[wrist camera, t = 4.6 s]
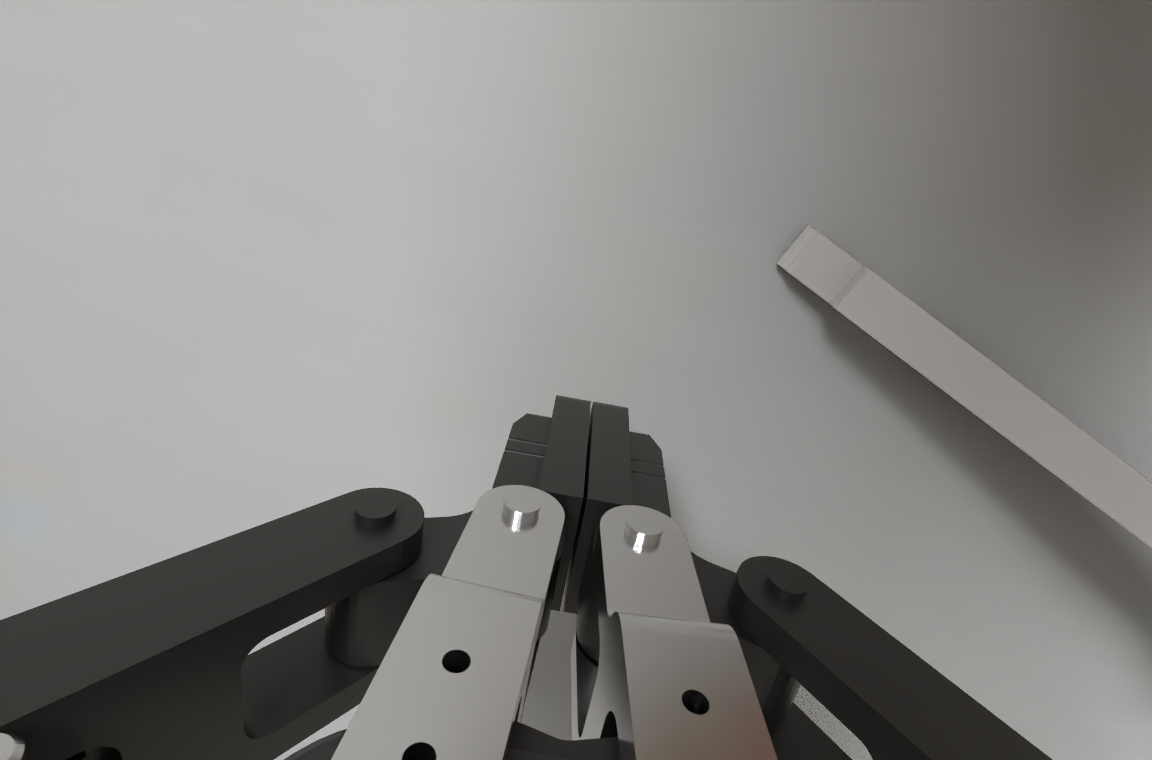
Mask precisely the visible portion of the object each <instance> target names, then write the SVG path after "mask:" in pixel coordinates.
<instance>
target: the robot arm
mask: <svg viewBox="0 0 1152 760" xmlns="http://www.w3.org/2000/svg"><path fill="white" fill-rule="evenodd" d="M590 405H591V401H586V400H580V399H575V398H569V397H563V396H558V395H556V400H555V405H554V410H553V415H552V418H549V417H544V416H538V415H532V414H526V415H524V416H523V417H522V418H520V419H519V420H517V421H516V422H515V423H513V426H512V429H511V432H510V435H509V439H508V441H507V444H506V447H505V451H504V454H503V457H502V460H501V463H500V466H499V469H498V472H497V475H496V478H495V481H494V485H493V488H492V489H491V490H489V491H487V492H486V493H484V494H483V495H482V496H481V497H480V499H479V500H478V502H477V504H476V506H475V508H474V510H473V511H471V512H468V513H465V514H462V515H457V516H451V517H434V518H424V511H423V508H422V506H421V505H420V503H419V502H418V501H417V500H416V499H414V498H413V497H412V496H410V495H408V494H406V493H404V492H401V491H398V490H393V489H388V488H366V489H361V490H356V491H353V492H349V493H347V494H344V495H341V496H339V497H336V498H333V499H330V500H328V501H325V502H322V503H319V504H317V505H314V506H311V507H309V508H306V509H303V510H300V511H298V512H295V513H292V514H289V515H287V516H284V517H281V518H279V519H276V520H273V521H270V522H268V523H265V524H262V525H259V526H257V527H254V528H251V529H249V530H246V531H243V532H240V533H238V534H235V535H232V536H229V537H227V538H224V539H221V540H218V541H216V542H213V543H210V544H208V545H205V546H202V547H199V548H197V549H194V550H191V551H188V552H186V553H183V554H180V555H178V556H175V557H172V558H169V559H167V560H164V561H161V562H158V563H156V564H153V565H150V566H148V567H145V568H142V569H139V570H137V571H134V572H131V573H128V574H126V575H123V576H120V577H118V578H115V579H112V580H109V581H107V582H104V583H101V584H98V585H96V586H93V587H90V588H87V589H85V590H82V591H79V592H77V593H74V594H71V595H68V596H66V597H63V598H60V599H57V600H55V601H52V602H49V603H47V604H44V605H41V606H38V607H36V608H33V609H30V610H27V611H25V612H22V613H19V614H17V615H14V616H11V617H8V618H6V619H3V620H0V760H273V759H275V758H277V757H278V756H280V755H281V754H283V753H284V752H286V751H287V750H289V749H290V748H292V747H293V746H295V745H297V744H298V743H300V742H301V741H303V740H304V739H306V738H307V737H309V736H310V735H312V734H314V733H315V732H317V731H318V730H320V729H321V728H323V727H324V726H326V725H327V724H329V723H331V722H332V721H334V720H335V719H337V718H338V717H340V716H341V715H343V714H344V713H346V712H348V711H349V710H351V709H352V708H354V707H355V706H357V705H358V704H360V705H359V707H358V709H357V711H356V713H355V715H354V717H353V718H352V720H351V722H350V724H349V726H348V728H347V729H345V730H342V731H339V732H336V733H334V734H331V735H329V736H327V737H324V738H322V739H319V740H317V741H315V742H313V743H311V744H310V745H308V746H306V747H304V748H302V749H300V750H299V751H297V752H295V753H294V754H292V755H290V756H289V757H287V758H286V759H284V760H852V759H851V758H850V757H849V756H848V755H847V754H846V753H845V752H844V751H843V750H842V749H841V748H839V747H838V746H837V745H836V744H835V743H834V742H833V741H832V740H831V739H830V738H829V737H828V736H827V735H826V734H825V733H824V732H823V731H822V730H821V729H820V728H819V727H818V726H817V725H816V724H815V723H814V722H813V721H812V720H811V719H810V718H809V717H808V716H807V715H806V714H805V713H804V712H803V711H801V710H800V709H799V708H798V707H797V706H796V705H795V704H794V703H793V701H794V698H795V696H796V694H797V692H798V689H799V687H800V685H802V686H803V687H804V688H805V689H807V690H808V691H809V692H810V693H811V694H812V695H813V696H814V697H815V698H816V699H817V700H818V701H819V702H820V703H821V704H823V705H824V706H825V707H826V708H827V709H828V710H829V711H830V712H831V713H832V714H833V715H834V716H835V717H836V718H837V719H839V720H840V721H841V722H842V723H843V724H844V725H845V726H846V727H847V728H848V729H849V730H850V731H851V732H852V733H853V734H855V735H856V736H857V737H858V738H859V739H860V740H861V741H862V743H863V744H864V745H865V746H866V748H867V749H868V751H869V753H870V755H871V757H872V759H873V760H1052V759H1051V758H1049V757H1048V756H1047V755H1046V754H1044V753H1043V752H1042V751H1040V750H1039V749H1038V748H1037V747H1035V746H1034V745H1033V744H1031V743H1030V742H1029V741H1027V740H1026V739H1025V738H1024V737H1022V736H1021V735H1020V734H1018V733H1017V732H1016V731H1014V730H1013V729H1012V728H1011V727H1009V726H1008V725H1007V724H1005V723H1004V722H1003V721H1002V720H1000V719H999V718H998V717H996V716H995V715H994V714H992V713H991V712H990V711H989V710H987V709H986V708H985V707H983V706H982V705H981V704H980V703H978V702H977V701H976V700H974V699H973V698H972V697H970V696H969V695H968V694H967V693H965V692H964V691H963V690H961V689H960V688H959V687H957V686H956V685H955V684H954V683H952V682H951V681H950V680H948V679H947V678H946V677H945V676H943V675H942V674H941V673H939V672H938V671H937V670H935V669H934V668H933V667H932V666H930V665H929V664H928V663H926V662H925V661H924V660H922V659H921V658H920V657H919V656H917V655H916V654H915V653H913V652H912V651H911V650H910V649H908V648H907V647H906V646H904V645H903V644H902V643H900V642H899V641H898V640H897V639H895V638H894V637H893V636H891V635H890V634H889V633H887V632H886V631H885V630H884V629H882V628H881V627H880V626H878V625H877V624H876V623H875V622H873V621H872V620H871V619H869V618H868V617H867V616H865V615H864V614H863V613H862V612H860V611H859V610H858V609H856V608H855V607H854V606H852V605H851V604H850V603H849V602H847V601H846V600H845V599H843V598H842V597H841V596H840V595H838V594H837V593H836V592H834V591H833V590H832V589H830V588H829V587H828V586H827V585H825V584H824V583H823V582H821V581H820V580H819V579H818V578H816V577H815V576H814V575H812V574H811V573H809V572H808V571H807V570H805V569H803V568H802V567H800V566H798V565H796V564H794V563H791V562H789V561H786V560H783V559H779V558H775V557H769V556H758V557H752V558H749V559H747V560H745V561H744V562H743V563H742V564H741V565H740V567H739V568H738V571H737V573H735V572H732V571H730V570H727V569H725V568H722V567H720V566H717V565H715V564H712V563H710V562H708V561H706V560H704V559H702V558H700V557H698V556H697V555H695V554H694V553H692V552H691V551H690V549H689V545H688V542H687V538H686V536H685V533H684V531H683V530H682V528H681V527H680V526H679V525H678V524H677V523H676V522H675V521H674V520H673V519H671V515H670V508H669V501H668V494H667V487H666V480H665V473H664V467H663V459H662V452H661V449H660V448H659V446H658V445H657V444H656V443H655V441H654V440H653V439H652V438H651V437H650V435H646V434H640V433H634V432H629V416H628V408H626V407H620V406H614V405H609V404H603V403H598V402H593V405H592V409H591V413H590ZM589 417H590V418H589ZM566 578H567V581H566ZM565 583H566V591H565V601H564V612H570V613H575V614H577V625H576V630H575V635H574V639H573V644H572V648H571V722H572V741H566V740H560V739H557V738H554V737H552V736H550V735H547V734H545V733H543V732H540V731H538V730H536V729H534V728H531V727H529V726H527V725H524V724H522V719H523V714H524V710H525V706H526V702H527V697H528V693H529V689H530V685H531V680H532V676H533V672H534V668H535V663H536V659H537V655H538V651H539V646H540V641H541V637H542V636H543V635H544V633H545V631H546V629H547V626H548V621H549V616H550V611H551V610H557V611H560V606H561V602H562V597H563V592H564V587H565ZM324 608H325V616H324V617H322V618H320V619H318V620H316V621H314V622H312V623H311V624H309V625H307V626H305V627H303V628H301V629H299V630H297V631H295V632H293V633H291V634H289V635H287V636H285V637H283V638H281V639H279V640H277V641H275V642H273V643H271V644H269V645H267V646H265V647H263V648H261V649H260V650H258V651H256V652H254V653H252V654H250V655H248V654H249V652H250V651H251V650H252V649H253V648H254V647H255V646H256V645H257V644H258V643H259V642H261V641H262V640H264V639H265V638H267V637H268V636H270V635H272V634H274V633H276V632H278V631H280V630H282V629H284V628H286V627H288V626H290V625H292V624H294V623H296V622H298V621H300V620H302V619H304V618H306V617H308V616H310V615H312V614H314V613H316V612H318V611H320V610H322V609H324ZM247 655H248V656H247Z"/></svg>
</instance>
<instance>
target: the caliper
mask: <svg viewBox="0 0 1152 760" xmlns="http://www.w3.org/2000/svg"><path fill="white" fill-rule="evenodd" d="M777 264H778V265H779V266H781V267H782V268H783V269H785V270H786V271H787V272H788V273H790V274H791V275H792V276H794V277H795V278H796V279H798V280H799V281H800V282H801V283H803V284H804V285H805V286H807V287H808V288H809V289H811V290H812V291H813V292H815V293H816V294H817V295H819V296H820V297H821V298H823V299H824V300H825V301H827V302H828V303H829V304H830V305H831V306H832V307H833V308H835V309H836V310H837V311H838V312H840V313H841V314H842V315H844V316H845V317H846V318H848V319H849V320H850V321H852V322H853V323H854V324H856V325H857V326H858V327H860V328H861V329H862V330H864V331H865V332H866V333H868V334H869V335H870V336H872V337H873V338H874V339H876V340H877V341H878V342H879V343H881V344H882V345H883V346H885V347H886V348H887V349H889V350H890V351H891V352H893V353H894V354H895V355H897V356H898V357H899V358H901V359H902V360H903V361H905V362H906V363H907V364H909V365H910V366H911V367H913V368H914V369H915V370H917V371H918V372H919V373H921V374H922V375H923V376H924V377H926V378H927V379H928V380H930V381H931V382H932V383H934V384H935V385H936V386H938V387H939V388H940V389H942V390H943V391H944V392H946V393H947V394H948V395H950V396H951V397H952V398H954V399H955V400H956V401H958V402H959V403H960V404H962V405H963V406H964V407H965V408H967V409H968V410H969V411H971V412H972V413H973V414H975V415H976V416H977V417H979V418H980V419H981V420H983V421H984V422H985V423H987V424H988V425H989V426H991V427H992V428H993V429H995V430H996V431H997V432H999V433H1000V434H1001V435H1003V436H1004V437H1005V438H1007V439H1008V440H1009V441H1010V442H1012V443H1013V444H1014V445H1016V446H1017V447H1018V448H1020V449H1021V450H1022V451H1024V452H1025V453H1026V454H1028V455H1029V456H1030V457H1032V458H1033V459H1034V460H1036V461H1037V462H1038V463H1040V464H1041V465H1042V466H1044V467H1045V468H1046V469H1048V470H1049V471H1050V472H1052V473H1053V474H1054V475H1055V476H1057V477H1058V478H1059V479H1061V480H1062V481H1063V482H1065V483H1066V484H1067V485H1069V486H1070V487H1071V488H1073V489H1074V490H1075V491H1077V492H1078V493H1079V494H1081V495H1082V496H1083V497H1085V498H1086V499H1087V500H1089V501H1090V502H1091V503H1093V504H1094V505H1095V506H1097V507H1098V508H1099V509H1100V510H1102V511H1103V512H1104V513H1106V514H1107V515H1108V516H1110V517H1111V518H1112V519H1114V520H1115V521H1116V522H1118V523H1119V524H1120V525H1122V526H1123V527H1124V528H1126V529H1127V530H1128V531H1130V532H1131V533H1132V534H1134V535H1135V536H1136V537H1138V538H1139V539H1140V540H1142V541H1143V542H1144V543H1145V544H1147V545H1148V546H1149V547H1151V548H1152V482H1151V481H1149V480H1148V479H1147V478H1145V477H1144V476H1143V475H1141V474H1140V473H1139V472H1137V471H1136V470H1135V469H1134V468H1132V467H1131V466H1130V465H1128V464H1127V463H1126V462H1124V461H1123V460H1122V459H1120V458H1119V457H1118V456H1116V455H1115V454H1114V453H1112V452H1111V451H1110V450H1108V449H1107V448H1106V447H1104V446H1103V445H1102V444H1101V443H1099V442H1098V441H1097V440H1095V439H1094V438H1093V437H1091V436H1090V435H1089V434H1087V433H1086V432H1085V431H1083V430H1082V429H1081V428H1079V427H1078V426H1077V425H1075V424H1074V423H1073V422H1071V421H1070V420H1069V419H1067V418H1066V417H1065V416H1064V415H1062V414H1061V413H1060V412H1058V411H1057V410H1056V409H1054V408H1053V407H1052V406H1050V405H1049V404H1048V403H1046V402H1045V401H1044V400H1042V399H1041V398H1040V397H1038V396H1037V395H1036V394H1034V393H1033V392H1032V391H1030V390H1029V389H1028V388H1027V387H1025V386H1024V385H1023V384H1021V383H1020V382H1019V381H1017V380H1016V379H1015V378H1013V377H1012V376H1011V375H1009V374H1008V373H1007V372H1005V371H1004V370H1003V369H1001V368H1000V367H999V366H997V365H996V364H995V363H993V362H992V361H991V360H990V359H988V358H987V357H986V356H984V355H983V354H982V353H980V352H979V351H978V350H976V349H975V348H974V347H972V346H971V345H970V344H968V343H967V342H966V341H964V340H963V339H962V338H960V337H959V336H958V335H956V334H955V333H954V332H953V331H951V330H950V329H949V328H947V327H946V326H945V325H943V324H942V323H941V322H939V321H938V320H937V319H935V318H934V317H933V316H931V315H930V314H929V313H927V312H926V311H925V310H923V309H922V308H921V307H919V306H918V305H917V304H916V303H914V302H913V301H912V300H910V299H909V298H908V297H906V296H905V295H904V294H902V293H901V292H900V291H898V290H897V289H896V288H894V287H893V286H892V285H890V284H889V283H888V282H886V281H885V280H884V279H882V278H881V277H880V276H878V275H877V274H876V273H875V272H873V271H872V270H871V269H869V268H867V267H866V266H863V265H862V264H861V263H859V262H858V261H857V260H856V259H854V258H853V257H852V256H850V255H849V254H848V253H846V252H845V251H844V250H842V249H841V248H840V247H838V246H837V245H836V244H834V243H833V242H832V241H830V240H829V239H828V238H826V237H825V236H824V235H822V234H821V233H819V232H818V231H817V230H815V229H814V228H813V227H811V226H810V225H808V226H807V227H806V228H805V229H804V231H803V232H802V233H801V234H800V235H799V236H798V238H797V239H796V240H795V241H794V242H793V244H792V245H791V246H790V247H789V248H788V250H787V251H786V252H785V253H784V254H783V256H782V257H781V258H780V259H779V260H778V262H777Z"/></svg>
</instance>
